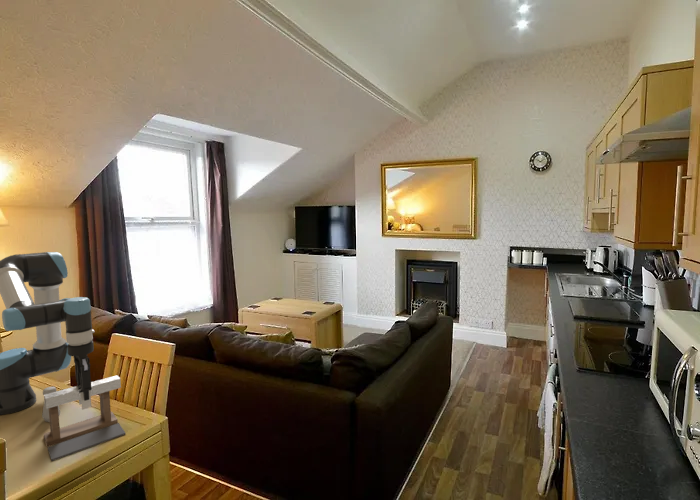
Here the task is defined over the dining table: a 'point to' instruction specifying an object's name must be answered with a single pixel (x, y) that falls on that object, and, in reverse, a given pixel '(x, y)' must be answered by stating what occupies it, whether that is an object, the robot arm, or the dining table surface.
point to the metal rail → (73, 392)
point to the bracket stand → (79, 423)
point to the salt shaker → (45, 411)
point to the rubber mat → (85, 441)
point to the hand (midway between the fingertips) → (85, 405)
